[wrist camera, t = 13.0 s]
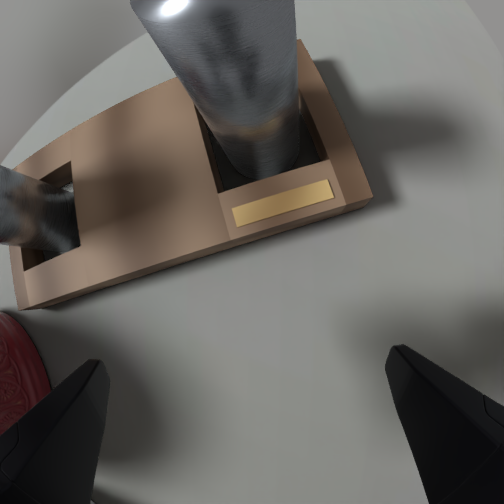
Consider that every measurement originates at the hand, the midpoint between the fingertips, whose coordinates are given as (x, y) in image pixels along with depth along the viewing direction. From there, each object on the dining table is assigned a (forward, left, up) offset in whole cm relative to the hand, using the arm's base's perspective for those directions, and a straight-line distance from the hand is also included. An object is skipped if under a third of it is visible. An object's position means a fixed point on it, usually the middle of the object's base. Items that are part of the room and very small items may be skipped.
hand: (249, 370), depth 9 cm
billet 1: (+16, +3, -9) cm, 19 cm away
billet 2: (+6, -9, -9) cm, 14 cm away
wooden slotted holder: (+11, -3, -9) cm, 15 cm away
